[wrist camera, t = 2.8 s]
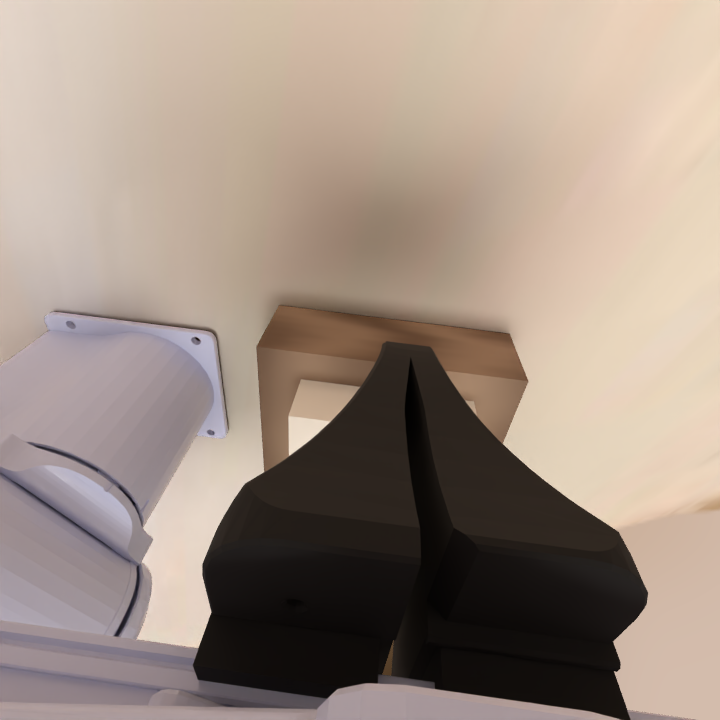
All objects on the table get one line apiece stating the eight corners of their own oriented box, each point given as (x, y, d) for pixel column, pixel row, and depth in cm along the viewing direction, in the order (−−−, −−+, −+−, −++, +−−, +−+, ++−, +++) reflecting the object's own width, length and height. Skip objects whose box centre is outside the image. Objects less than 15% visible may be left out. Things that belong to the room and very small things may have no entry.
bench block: (282, 455, 28) (266, 506, 25) (279, 305, 22) (256, 346, 18) (458, 479, 28) (465, 532, 25) (509, 333, 21) (528, 381, 18)
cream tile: (300, 440, 21) (288, 478, 19) (301, 379, 19) (288, 415, 17) (454, 460, 21) (459, 501, 19) (473, 401, 19) (482, 441, 17)
